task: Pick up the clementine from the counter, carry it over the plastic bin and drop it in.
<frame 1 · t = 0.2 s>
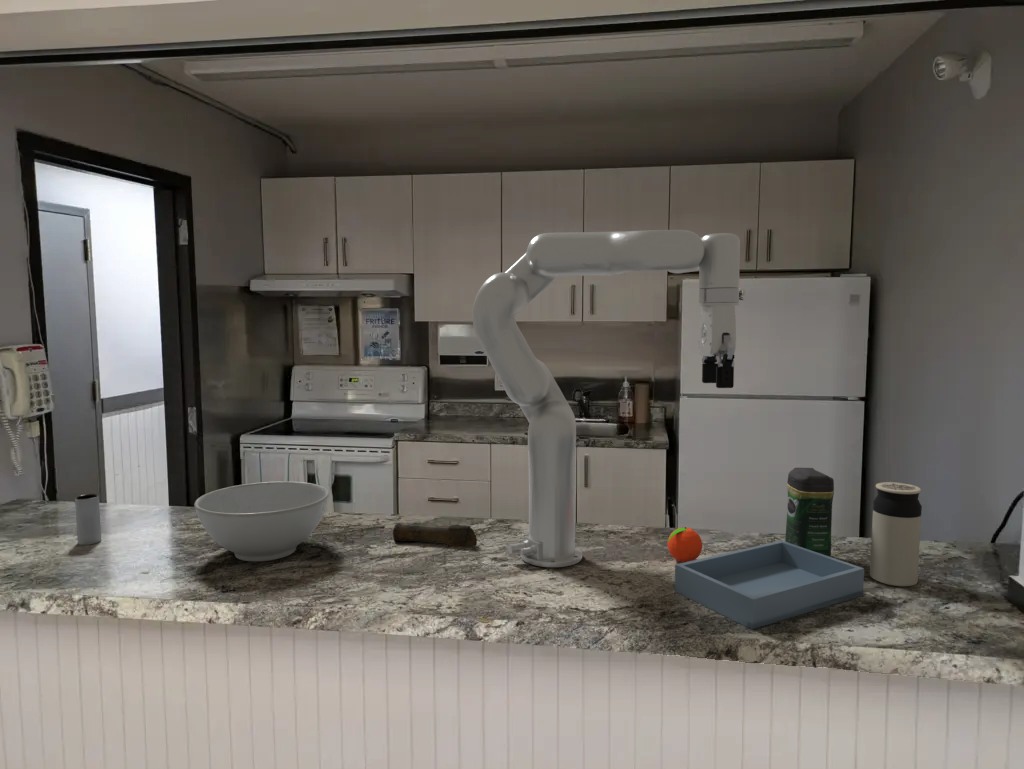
hand: (717, 385, 139), 36 cm above the countertop, tool pointing down, fingers open, 9 cm apart
gray cylinder: (89, 542, 157), on the countertop
hand tool: (436, 544, 156), on the countertop
bin: (768, 593, 127), on the countertop
coffee jar: (807, 558, 146), on the countertop
clementine: (682, 562, 144), on the countertop
travel mug: (893, 580, 134), on the countertop
decorative bowl: (265, 552, 150), on the countertop
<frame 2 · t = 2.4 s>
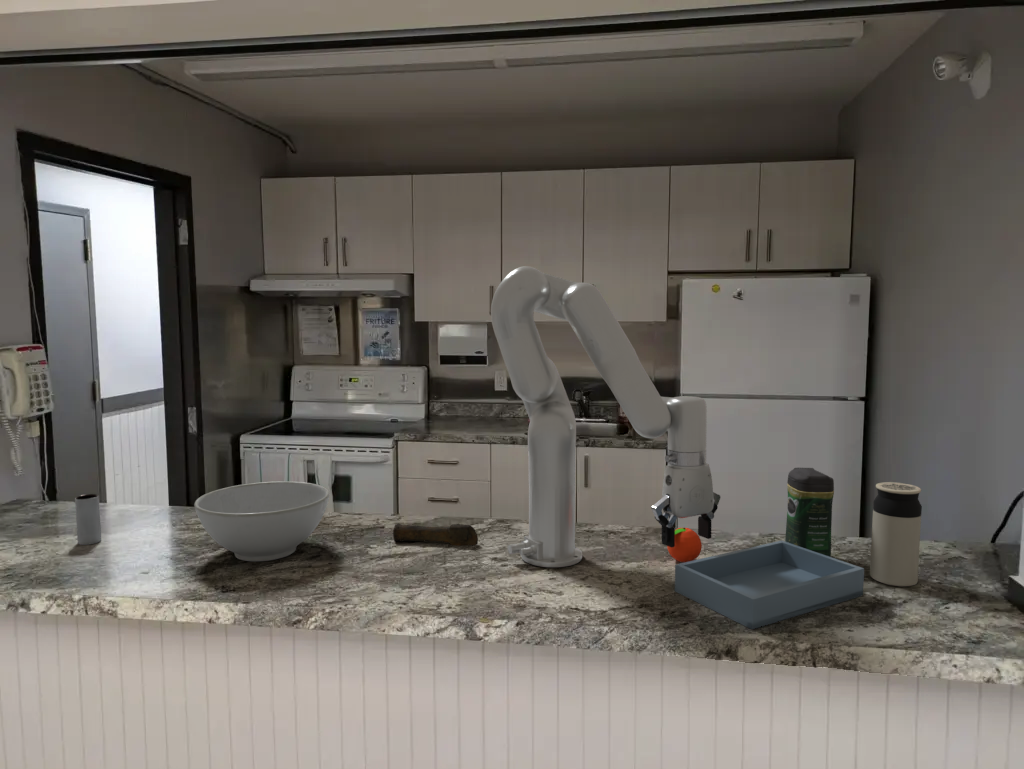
hand: (686, 541, 143), 4 cm above the countertop, tool pointing down, fingers open, 9 cm apart
clementine: (682, 562, 144), on the countertop, touching gripper
everything else where it was.
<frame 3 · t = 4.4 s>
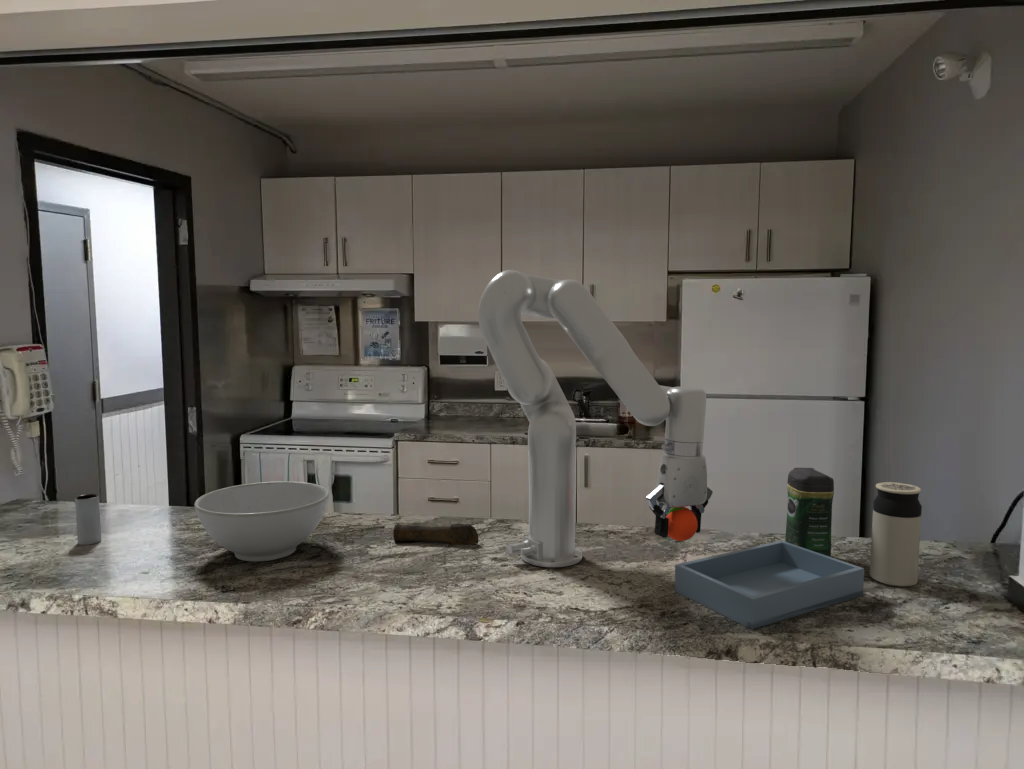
hand: (677, 532, 143), 6 cm above the countertop, tool pointing down, fingers closed on clementine, 8 cm apart
clementine: (676, 541, 143), point 4 cm above the countertop, touching gripper
everything else where it was.
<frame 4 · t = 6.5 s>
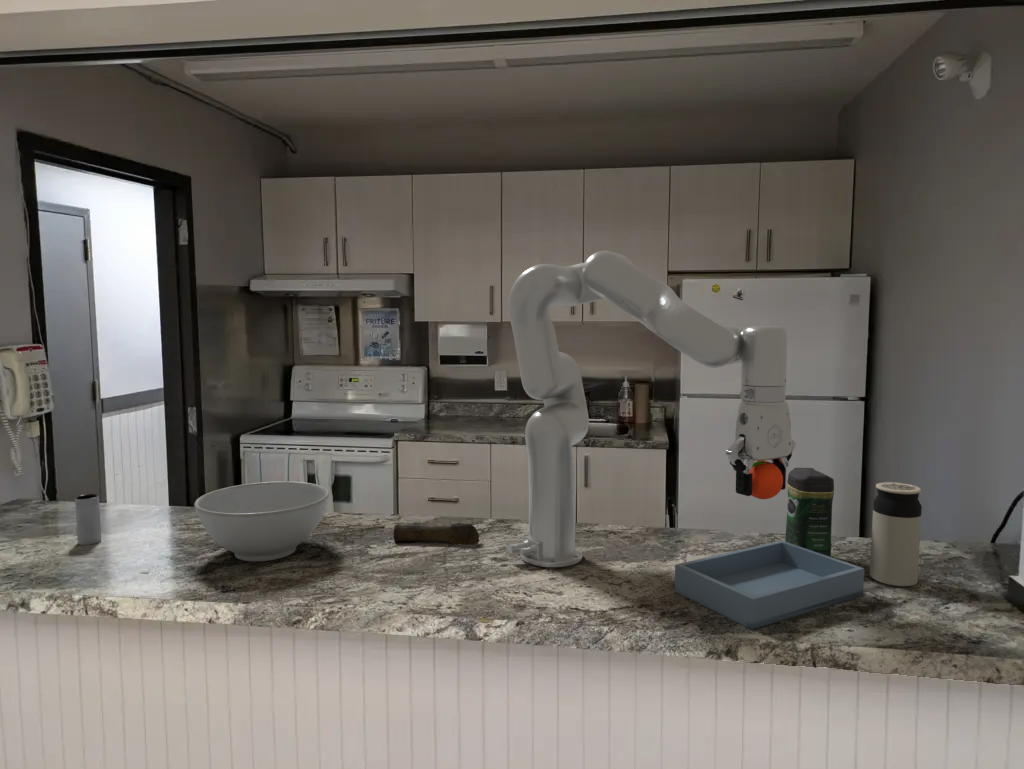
hand: (760, 490, 127), 18 cm above the countertop, tool pointing down, fingers closed on clementine, 8 cm apart
clementine: (759, 500, 128), point 17 cm above the countertop, touching gripper
everything else where it was.
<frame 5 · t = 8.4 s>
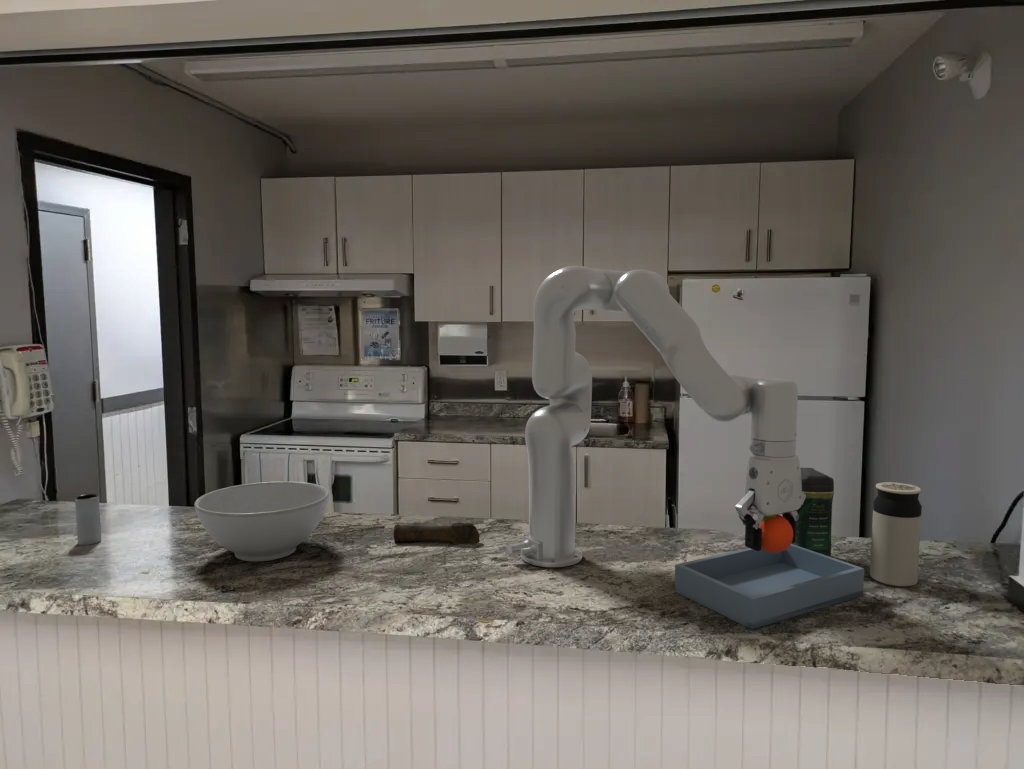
hand: (770, 544, 126), 9 cm above the countertop, tool pointing down, fingers closed on clementine, 8 cm apart
clementine: (769, 553, 127), point 7 cm above the countertop, touching gripper
when the fingers open (5 cm above the countertop, at t = 9.9 s): clementine drops 2 cm, resting on bin.
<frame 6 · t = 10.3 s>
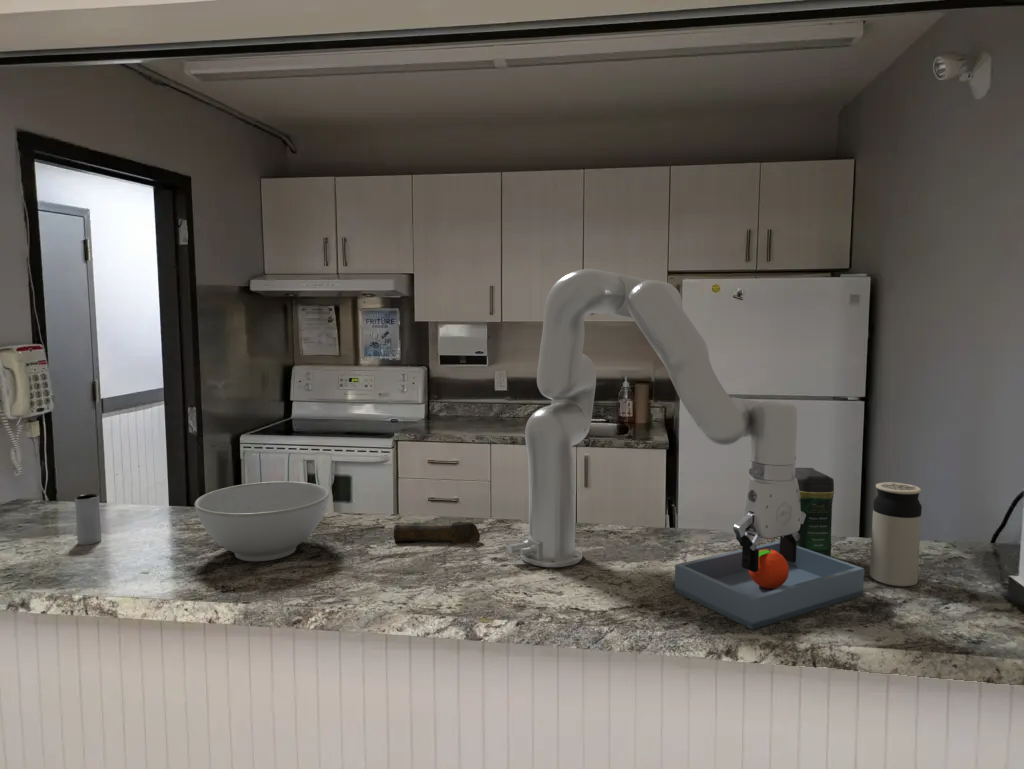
hand: (769, 564, 127), 5 cm above the countertop, tool pointing down, fingers open, 9 cm apart
clementine: (765, 588, 127), point 1 cm above the countertop, touching bin
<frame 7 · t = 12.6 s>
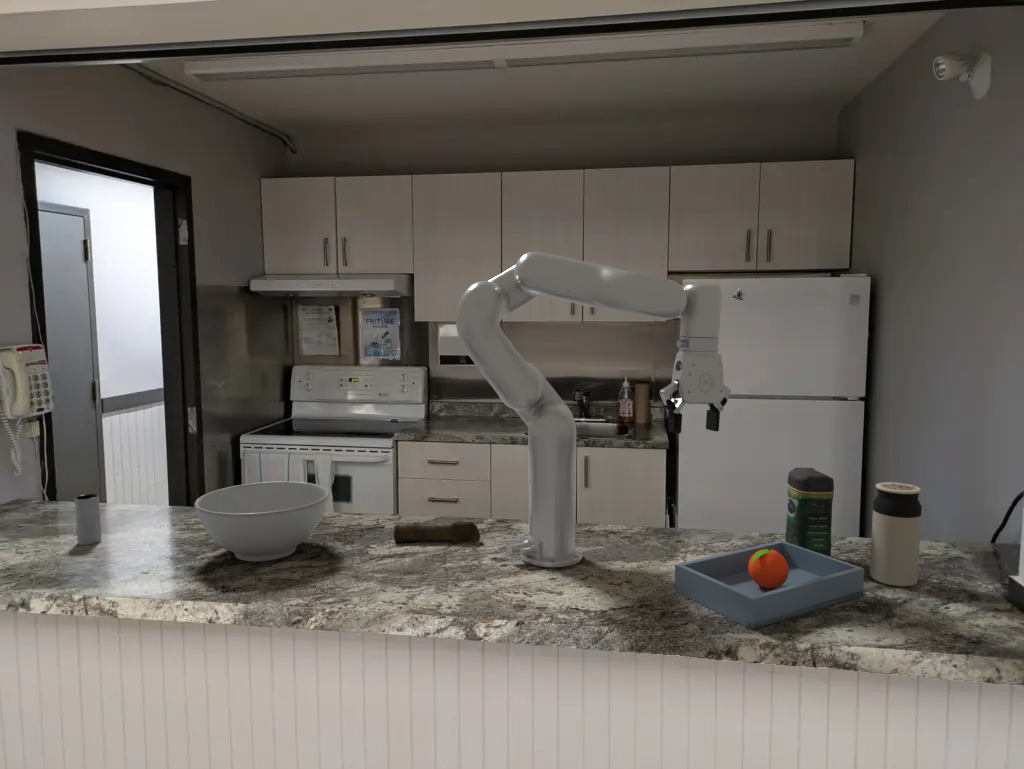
hand: (693, 431, 142), 27 cm above the countertop, tool pointing down, fingers open, 9 cm apart
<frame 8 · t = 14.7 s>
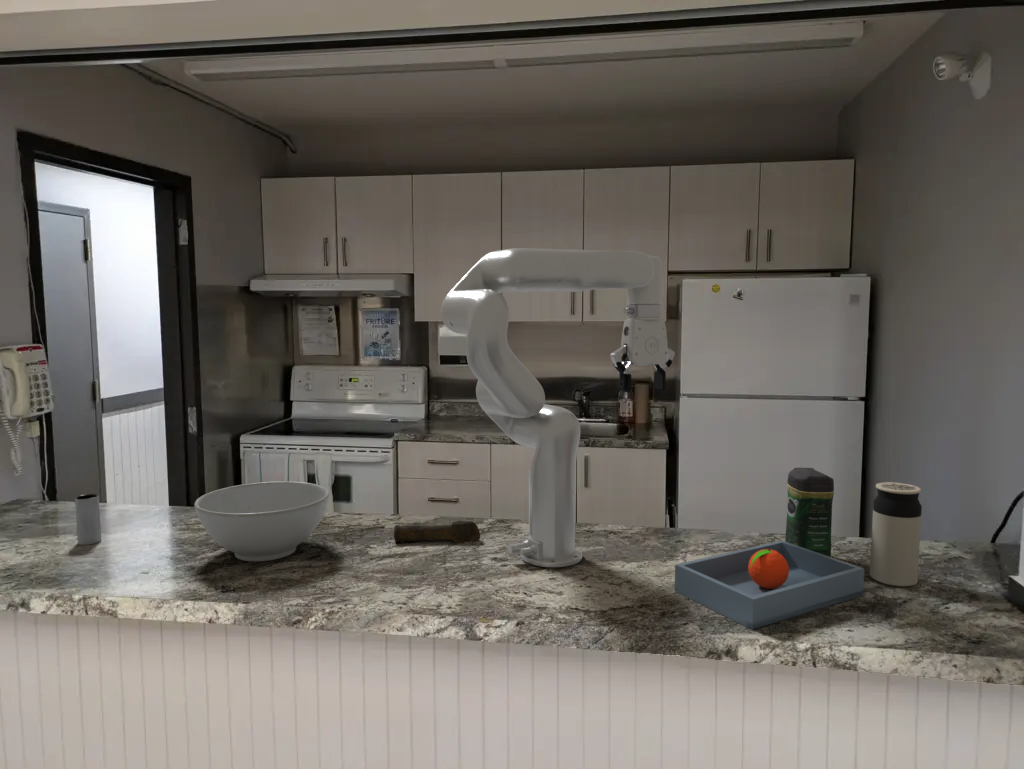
hand: (642, 390, 157), 33 cm above the countertop, tool pointing down, fingers open, 9 cm apart
at the end: clementine inside the target area on the bin (0.4 cm from its centre), point 0.8 cm above the bin's base; the gripper is holding nothing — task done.
